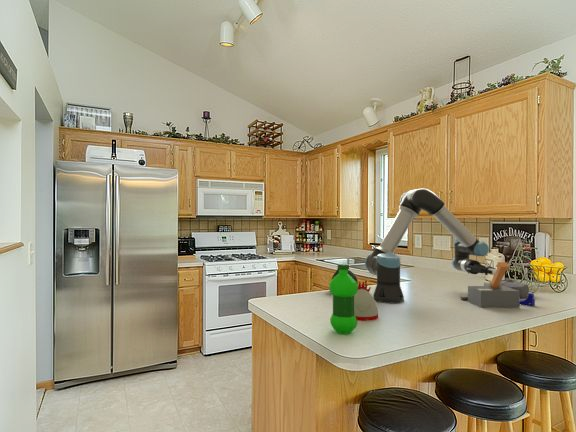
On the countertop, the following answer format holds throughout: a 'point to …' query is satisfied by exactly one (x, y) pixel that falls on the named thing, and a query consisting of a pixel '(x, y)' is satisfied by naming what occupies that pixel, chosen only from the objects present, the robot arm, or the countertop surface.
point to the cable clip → (528, 300)
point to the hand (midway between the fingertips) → (497, 273)
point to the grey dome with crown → (364, 304)
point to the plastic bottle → (343, 301)
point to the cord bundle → (464, 298)
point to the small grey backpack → (516, 287)
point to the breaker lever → (499, 274)
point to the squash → (348, 273)
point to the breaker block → (493, 296)
